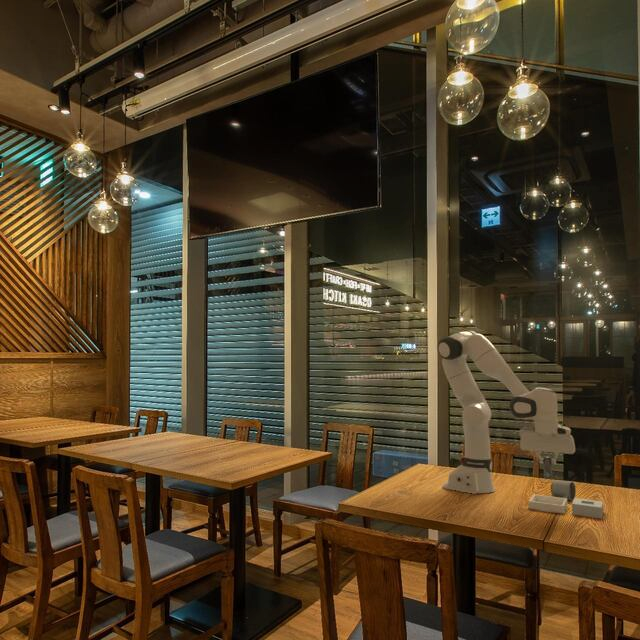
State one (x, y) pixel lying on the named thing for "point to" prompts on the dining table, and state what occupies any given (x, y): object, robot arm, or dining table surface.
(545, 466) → the pin
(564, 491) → the ceramic mug
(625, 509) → the dining table surface
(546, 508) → the tray
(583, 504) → the grey square socket block
